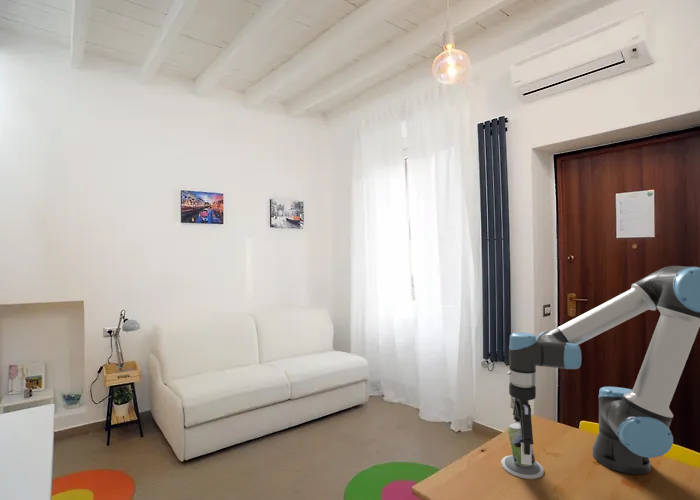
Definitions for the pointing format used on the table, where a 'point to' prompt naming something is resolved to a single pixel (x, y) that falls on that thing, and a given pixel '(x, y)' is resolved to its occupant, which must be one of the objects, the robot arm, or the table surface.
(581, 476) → the table surface
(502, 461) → the grey white round coaster
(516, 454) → the beverage can
